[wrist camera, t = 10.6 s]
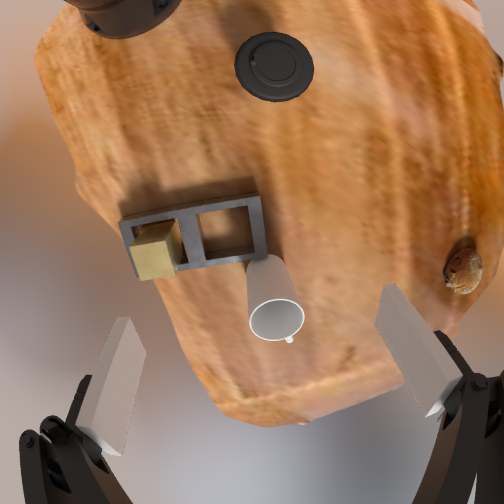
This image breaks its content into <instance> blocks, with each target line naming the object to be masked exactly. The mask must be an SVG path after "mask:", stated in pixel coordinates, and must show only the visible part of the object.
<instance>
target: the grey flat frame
mask: <svg viewBox="0 0 504 504" xmlns="http://www.w3.org/2000/svg"><path fill="white" fill-rule="evenodd" d="M247 205H248V211H249V218H250V224H251V231H252V238H253V244H254V245H253V246H246V247H240V248H234V249H227V250H221V251H215V252H208V253H207V249H206V245H205V241H204V236H203V232H202V228H201V223H200V218H199V213H205V212H210V211H216V210H222V209H228V208H234V207H241V206H247ZM172 218H177V219H178V223H179V227H180V231H181V235H182V239H183V242H184V246H185V250H186V254H187V256H183V257H181V260H180V263H179V266H178V269H177V271H182V270H189V269H195V268H202V267H208V266H215V265H222V264H228V263H234V262H241V261H247V260H254V259H260V258H267V257H268V252H267V244H266V236H265V229H264V221H263V214H262V206H261V199H260V194H259V192H251V193H245V194H238V195H232V196H226V197H220V198H214V199H208V200H203V201H197V202H192V203H187V204H181V205H176V206H171V207H166V208H161V209H156V210H152V211H147V212H142V213H138V214H133V215H129V216H124V217H123V218H122V219H121V220H120V221H119V222H118V224H119V227H120V231H121V234H122V237H123V240H124V243H125V246H126V249H127V252H128V255H129V257H130V260H131V263H132V266H133V269H134V271H135V274H136V277H139V274H138V272H137V269H136V266H135V263H134V260H133V257H132V254H131V251H130V248H129V247H130V245H131V244H132V242H133V241H134V240H135V238H136V237H137V236H138V234H139V229H138V226H137V225H142V224H147V223H151V222H156V221H162V220H167V219H172Z"/></svg>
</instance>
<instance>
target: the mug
mask: <svg viewBox="0 0 504 504" xmlns="http://www.w3.org/2000/svg"><path fill="white" fill-rule="evenodd" d="M246 278H247V298H248V314H249V325H250V328H251V330H252V332H253V333H254V334H255V335H256V336H258V337H260V338H262V339H265V340H270V341H278V340H283V339H286V341H287V343H290V342H292V341H293V340H294V339H293V335H294V334H295V333H296V332H297V331H298V330H299V329H300V328H301V326H302V325H303V322H304V311H303V309H302V306H301V303H300V300H299V298H298V295H297V293H296V290H295V288H294V285H293V283H292V280H291V278H290V275H289V273H288V270H287V268H286V266H285V263H284V262H283V260H282V259H281V258H279V257H278V256H276V255H273V254H268V257H267V258H260V259H254V260H251V261H250V263H249V264H248V266H247V270H246Z"/></svg>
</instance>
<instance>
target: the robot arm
mask: <svg viewBox="0 0 504 504" xmlns="http://www.w3.org/2000/svg"><path fill="white" fill-rule="evenodd" d="M64 1H66V2H68V3H70V4H72V5H73V6H75V7H77V8H78V10H79V12H80V14H81V17H82V19H83V21H84V23H85V25H86V26H87V27H88V28H89V29H90V30H91V31H92V32H94V33H96V34H98V35H100V36H102V37H104V38H108V39H125V38H130V37H134V36H137V35H140V34H143V33H145V32H147V31H149V30H151V29H153V28H154V27H156V26H157V25H159V24H160V23H162V22H163V21H164V20H166V19H167V18H168V17H169V16H170V15H171V14H172V13H173V12H174V11H175V9H176V8H177V7H178V5H179V4H180V2H181V0H64ZM375 326H376V328H377V330H378V331H379V333H380V335H381V336H382V338H383V340H384V342H385V343H386V345H387V347H388V349H389V350H390V352H391V354H392V356H393V358H394V359H395V361H396V363H397V365H398V367H399V369H400V370H401V372H402V374H403V376H404V378H405V380H406V382H407V383H408V385H409V387H410V389H411V391H412V393H413V395H414V397H415V399H416V401H417V403H418V405H419V407H420V409H421V411H422V413H423V415H424V417H427V416H429V415H431V414H433V413H436V412H438V410H439V409H440V408H441V407H442V405H444V407H445V411H444V412H443V413H442V414H441V415H440V417H439V418H438V420H437V422H439V421H440V420H441V419H442V420H441V424H440V428H439V432H438V435H437V439H436V442H435V445H434V448H433V452H432V455H431V458H430V461H429V463H428V466H427V469H426V471H425V474H424V477H423V479H422V482H421V484H420V487H419V489H418V491H417V494H416V496H415V498H414V500H413V502H412V504H467V503H468V499H469V496H470V494H471V490H472V487H473V484H474V480H475V477H476V473H477V483H476V493H475V501H474V504H504V370H503V372H502V373H501V374H500V376H497V377H491V378H486V377H485V376H484V375H482V374H480V373H474V372H473V371H472V370H471V369H470V367H469V365H468V364H467V363H466V361H465V360H464V358H463V357H462V355H461V354H460V353H459V351H457V348H456V347H455V346H454V345H453V343H452V342H451V340H450V339H449V338H448V336H447V335H445V334H444V333H442V332H441V331H440V330H438V331H435V332H433V331H432V330H431V329H430V327H429V326H428V325H427V323H426V322H425V321H424V319H423V318H422V317H421V315H420V314H419V313H418V312H417V310H416V309H415V308H414V306H413V305H412V304H411V303H410V301H409V300H408V299H407V298H406V296H405V295H404V294H403V293H402V291H401V290H400V289H399V288H398V287H397V285H396V284H390V285H385V286H383V289H382V294H381V299H380V304H379V309H378V313H377V318H376V322H375ZM146 354H147V353H146V351H145V349H144V347H143V345H142V343H141V341H140V339H139V337H138V334H137V332H136V330H135V328H134V325H133V323H132V321H131V319H130V317H117V319H116V321H115V323H114V326H113V328H112V330H111V332H110V335H109V337H108V339H107V342H106V344H105V346H104V349H103V351H102V353H101V356H100V358H99V361H98V363H97V366H96V368H95V371H94V373H93V375H86V376H85V377H84V378H83V379H82V380H81V382H80V384H79V386H78V389H77V393H76V394H75V396H74V400H73V402H72V405H71V407H70V410H69V413H68V416H67V418H66V421H65V422H63V421H62V420H61V419H60V418H59V417H57V416H53V415H52V416H48V417H47V418H45V419H44V420H43V421H42V423H41V425H40V434H41V435H39V434H37V433H36V432H35V431H33V430H26V431H24V432H23V433H22V435H21V437H20V440H19V451H20V466H21V476H22V484H23V491H24V497H25V503H26V504H133V503H132V502H131V500H130V499H129V497H128V496H127V494H126V493H125V491H124V490H123V489H122V487H121V485H120V484H119V482H118V481H117V479H116V477H115V476H114V474H113V473H112V471H111V469H110V467H109V466H108V464H107V462H106V461H105V459H104V457H103V456H102V455H101V452H102V449H103V450H104V451H105V452H107V453H108V454H111V455H117V456H123V454H124V448H125V443H126V438H127V433H128V427H129V423H130V419H131V414H132V410H133V405H134V401H135V396H136V392H137V388H138V384H139V380H140V376H141V372H142V369H143V364H144V361H145V357H146ZM500 412H501V413H500Z"/></svg>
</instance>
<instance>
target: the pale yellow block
mask: <svg viewBox="0 0 504 504" xmlns="http://www.w3.org/2000/svg"><path fill="white" fill-rule="evenodd" d="M129 248H130V251H131V254H132V257H133V260H134V263H135V266H136V269H137V272H138V274H139V277H140V280H141V281H142V280H149V279H157V278H164V277H171V276H176V273H177V269H178V266H179V263H180V260H181V257H182V254H183V249H182V245H181V241H180V237H179V233H178V229H177V225H176V221H172V222H167V223H161V224H156V225H151V226H145V227H143V229H142V230H141V231H140V233H139V234H138V236H137V237H136V238H135V240H134V241H133V242H132V244H131V245H130V247H129Z"/></svg>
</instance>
